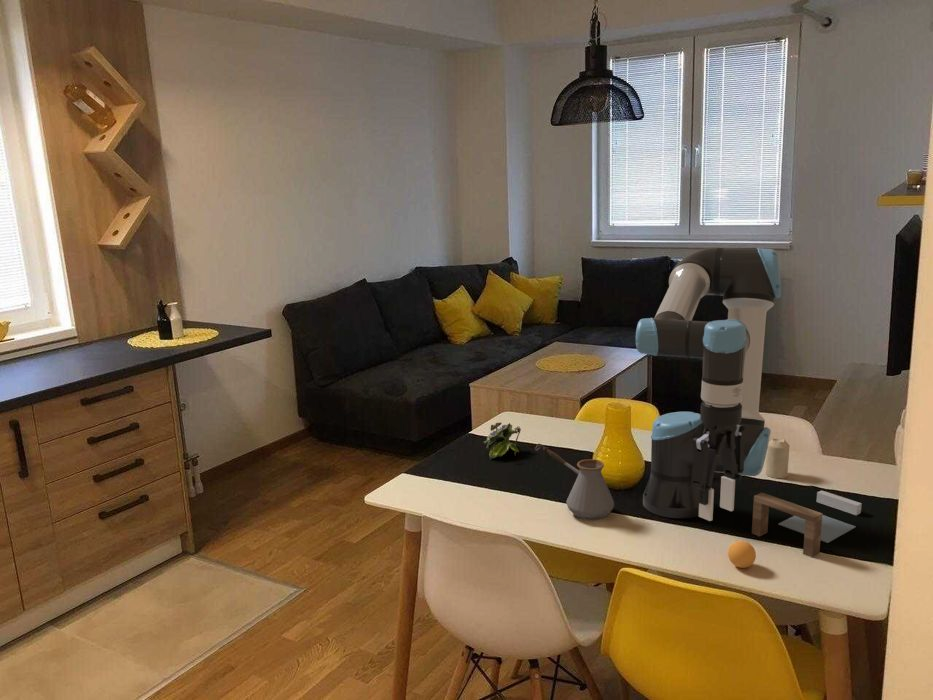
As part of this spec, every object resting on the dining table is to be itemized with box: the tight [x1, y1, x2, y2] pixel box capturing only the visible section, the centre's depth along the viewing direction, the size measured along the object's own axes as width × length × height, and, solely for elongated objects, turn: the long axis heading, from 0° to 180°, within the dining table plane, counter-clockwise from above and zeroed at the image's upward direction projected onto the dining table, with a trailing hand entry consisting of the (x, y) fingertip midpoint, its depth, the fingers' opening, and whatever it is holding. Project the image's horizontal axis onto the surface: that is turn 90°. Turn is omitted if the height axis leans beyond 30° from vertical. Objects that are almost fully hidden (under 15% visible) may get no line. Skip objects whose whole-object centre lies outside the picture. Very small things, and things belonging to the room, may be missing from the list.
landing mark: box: [777, 514, 856, 544], centre depth 182 cm, size 12×12×1 cm
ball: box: [727, 540, 757, 569], centre depth 165 cm, size 6×6×6 cm
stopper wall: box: [816, 490, 862, 516], centre depth 191 cm, size 10×2×2 cm, turn 37°
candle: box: [765, 438, 790, 479], centre depth 210 cm, size 6×6×10 cm
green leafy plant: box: [483, 421, 522, 460], centre depth 232 cm, size 11×11×12 cm
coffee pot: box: [534, 443, 615, 521], centre depth 193 cm, size 21×12×15 cm, turn 51°
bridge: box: [751, 492, 824, 558], centre depth 173 cm, size 3×14×9 cm, turn 36°
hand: (716, 513), depth 156 cm, fingers open, 6 cm apart
